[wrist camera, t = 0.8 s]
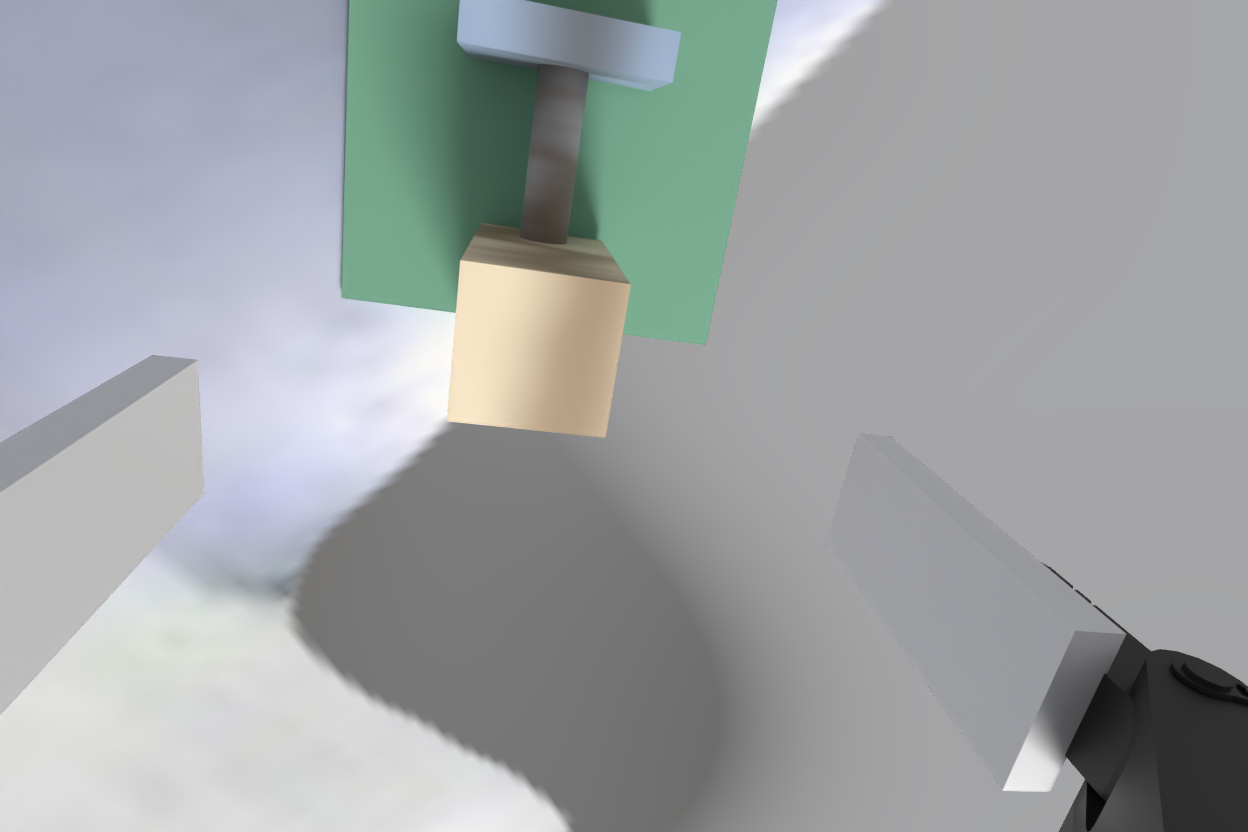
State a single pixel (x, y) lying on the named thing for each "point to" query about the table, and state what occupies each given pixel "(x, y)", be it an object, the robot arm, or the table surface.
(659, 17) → the pitch mat
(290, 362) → the table surface
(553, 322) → the rod slider
